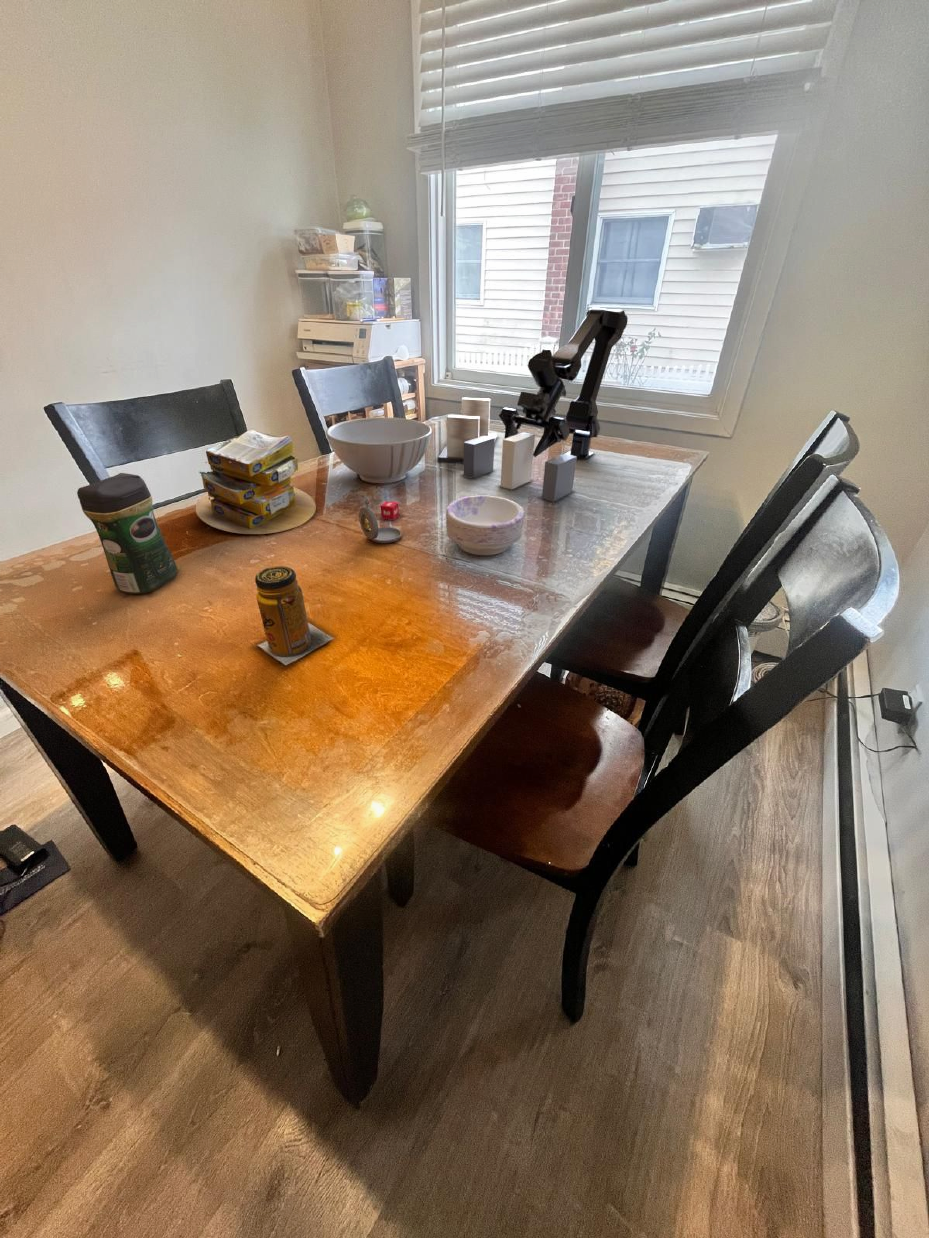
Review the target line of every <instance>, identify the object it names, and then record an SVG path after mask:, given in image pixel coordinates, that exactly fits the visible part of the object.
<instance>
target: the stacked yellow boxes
mask: <svg viewBox="0 0 929 1238" xmlns="http://www.w3.org/2000/svg"><path fill="white" fill-rule="evenodd" d="M205 450H206V451H205V455H206V459H207V461H205V462H204V463H205V464H207V463H208V465H209V467H210V471H207V472H206V471H199V472H198V474H199V475H200V476H201V481H202V486H203V490H206V493H204V494H203V495H202V496H201V497H199V498H198V500H197V502H196V504H195V513H196V515H197V517H198V518H199V519H200V520H201V521H202V522H203V523H205V524H207V525H209V526H210V527H212V528H215V529H218V530H221V531H225V532H229V533H236V534H242V535H265V534H266V535H267V534H273V533H275V534H276V533H280V532H284V531H285V532H286V531H288V530H292V529H295V528H297V527H300V526H302V525H303V524H305V523H306V522H307V521H309V520H310V519H311V518H313V516H314V514H315V513H316V509H317V505H316V502H315V500H314V499H313V498H312V497H311V496H310V494H308V493H307V492H305V491H303V490H301V489H298V488H297V487H294V486H292V485H291V483H292V476H293V475H294V474H295V472H297V471H298V470H299V463H298V458H297V456H293V455H294V453H295V451H294V441H293V440H292V439H291V437H290V436H289V435H284V436H277V435H273V434H269V433H263V432H262V431H256V430H253V429H248V430H246V432H244V433H242V434H240V435H236V436H234V437H232V438H229V439H228V438H227V439H226V440H225V441H224V442H223V443H219V444H217V445H215V446H213V447H210V448H206V449H205Z"/></svg>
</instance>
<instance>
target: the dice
mask: <svg viewBox="0 0 929 1238" xmlns="http://www.w3.org/2000/svg"><path fill="white" fill-rule="evenodd" d="M379 507H380V518H381V519H383V520H390V521H395V520H396V519H397V518H398V517H399V516H400V508H399V507H400V506H399V502H396V501H391V500H390V501H389V500H386V501H383V503H382V504H380V505H379Z"/></svg>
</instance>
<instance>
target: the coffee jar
mask: <svg viewBox="0 0 929 1238" xmlns="http://www.w3.org/2000/svg"><path fill="white" fill-rule="evenodd" d="M76 495H77V499H78V500H79V504H80V507H81V510H82V512H83V514H84V515H85V516H86V517H87V519H89V520H90V521H91V523H92V524H93V526H94V528H95V530H96V532H97V534H98V535H97V536H99V537H98V538H99V541H100V544H101V546H102V549H103V552H104V555H105V558H106V562H107V565H108V569H109V572H110V576H111V578H112V581H113V584H114V586H115V588H116V589H117V590H119V591H120V592H123V593H125V594H129V595H139V594H141V595H142V594H148V593H151V592H153V591H155V590H157V589H159V588H161V587H163V586H164V585H166V584H167V583H169V582H170V581H171V580H173V579H175V578H176V577H177V575H178V573H179V568H178V566H177V564H176V563H177V562H176V561H175V559H174V556H173V555H172V553H171V550H170V549H169V546H168V545H167V542H166V540H165V538H164V535H163V533H162V531H161V529H160V527H159V525H158V522H157V519H156V516H155V513H154V508H153V496H152V494H151V492H150V490H149V488H148V486H147V484H146V481H145V480H144V479H143V478H142V477H141V476H140V475H138V474H133V473H126V472H119V473H118V474H115V475H113V476H110V477H107V478H104V479H101V480H99V481H96V482H94V483H91V484H88V485H85V486H81V487H78V489H77V491H76Z"/></svg>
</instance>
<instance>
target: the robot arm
mask: <svg viewBox="0 0 929 1238" xmlns="http://www.w3.org/2000/svg"><path fill="white" fill-rule="evenodd" d="M628 320H629V319H628V315H627V314H626V312H625V310H623V309H607V308H602V307H601V308H600V307H592V308H589V309H588V310H587V312H586V314H585V318H584V319H583V320H582V322H581V324H580V325H579V326H578V328H577V330H576V331H575V332H574V334H573V335H572V337H571V338H570V340H569V341H568V343H567V344H566V345H565V346H562V347H561V348H559V349H557V350H556V351H555V352H554V353H552V351H551V349H549V348H548V349H547V348H543V349H542V350H541V351H540V352H539V353H537V354H534V355H533V356H532V357H531V358H530V359H529V360H528V362H527V368H528V370H529V372H530V375H531V377H532V379H533V381H534V383H535V385H536V386H537V387H538V388H539V390H538V391H537V393H533V392H527V391H520V393H519V397H518V400H517V404H516V405H517V406H518V407H521V408H522V413H523V415H525V416H522V415H520V414H519V412H518V410H517V409H515V408H509V407H503V408H502V409H501V410H500V412H499V414H498V417H499V418H500V420H501V422H502V423H503V425H504V427H505V428H504V437H503V439H505V438H508V437H511V436H514V435H517V434H519V430H520V429H521V427H522V426H525V427H531V428H535V429H541V430H543V433H542V435H541V438H540V439H539V441H538V443H537V445H536V447H535V448H534V452H533V458H537V457H538V456H539V455H541V454H542V453H543V452H545V451H546V450H547V449H549V448H550V447H552V446H554V445H555V444H557V443H561V442H562V441H565V442H566V441H567V440H568V438H569V436H570V434H571V442H570V443H571V444H570V450H569V451H568V452H566V453H565V454H569V455H573V456H577V459H583V460H585V459H588V458H590V457H591V456H592V455H594V452H593V451H591V445H592V439H593V438H598V436H599V434H600V431H601V426H600V423H599V420H598V413H599V410H598V406H597V398H598V395H599V392H600V388H601V385H602V382H603V378H604V376H605V373H606V368H607V365H608V362H609V359H610V355H611V351H612V349H613V347H614V346H615V345H616V344H617V343H618V342H619V341H620V340H621V338H622V337H623V334H624V331H625V330H626V328H627V326H628ZM593 342H594V345H593V349H592V353H591V355H590V358H589V362H588V365H587V368H586V369H587V370H586V373H585V376H584V378H583V379H584V380H583V382H582V386H581V389H580V393H579V396H578V397H577V398H576V399H575V400H571V401H570V402H569V406H568V410H567V412H566V415H565V418H563V417H559V416H554V415H555V414H556V412H557V410H556V406H557V404H558V403H559V401H560V399H561V397H567V390H566V384H565V383H564V382H563V381H567V382H573V381H574V380H575V379H576V378H577V376H578V375H579V373H580V370H581V369H582V358H583V356H584V355H585V354H586V352H587V350H588V349H589V347H590V346H591V344H592V343H593Z"/></svg>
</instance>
